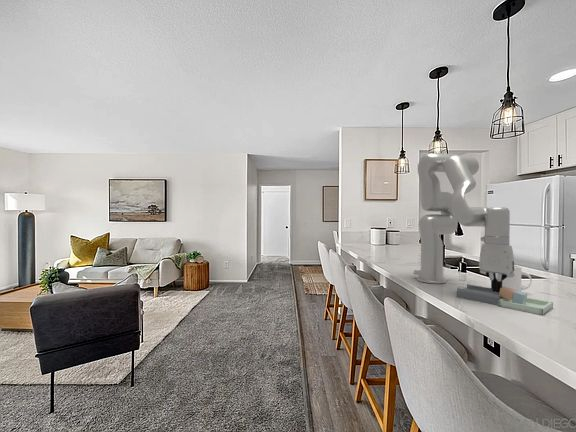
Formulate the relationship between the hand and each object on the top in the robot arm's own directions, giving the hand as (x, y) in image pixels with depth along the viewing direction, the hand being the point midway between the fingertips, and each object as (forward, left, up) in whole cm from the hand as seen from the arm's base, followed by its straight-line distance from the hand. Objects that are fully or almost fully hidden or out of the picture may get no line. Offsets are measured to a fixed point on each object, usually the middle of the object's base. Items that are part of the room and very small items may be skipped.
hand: (496, 291), depth 114 cm
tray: (+9, 0, -4) cm, 9 cm away
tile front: (+5, 0, -1) cm, 6 cm away
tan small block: (+3, 0, -1) cm, 3 cm away
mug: (-1, +21, -4) cm, 21 cm away
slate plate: (-5, 0, -4) cm, 6 cm away
